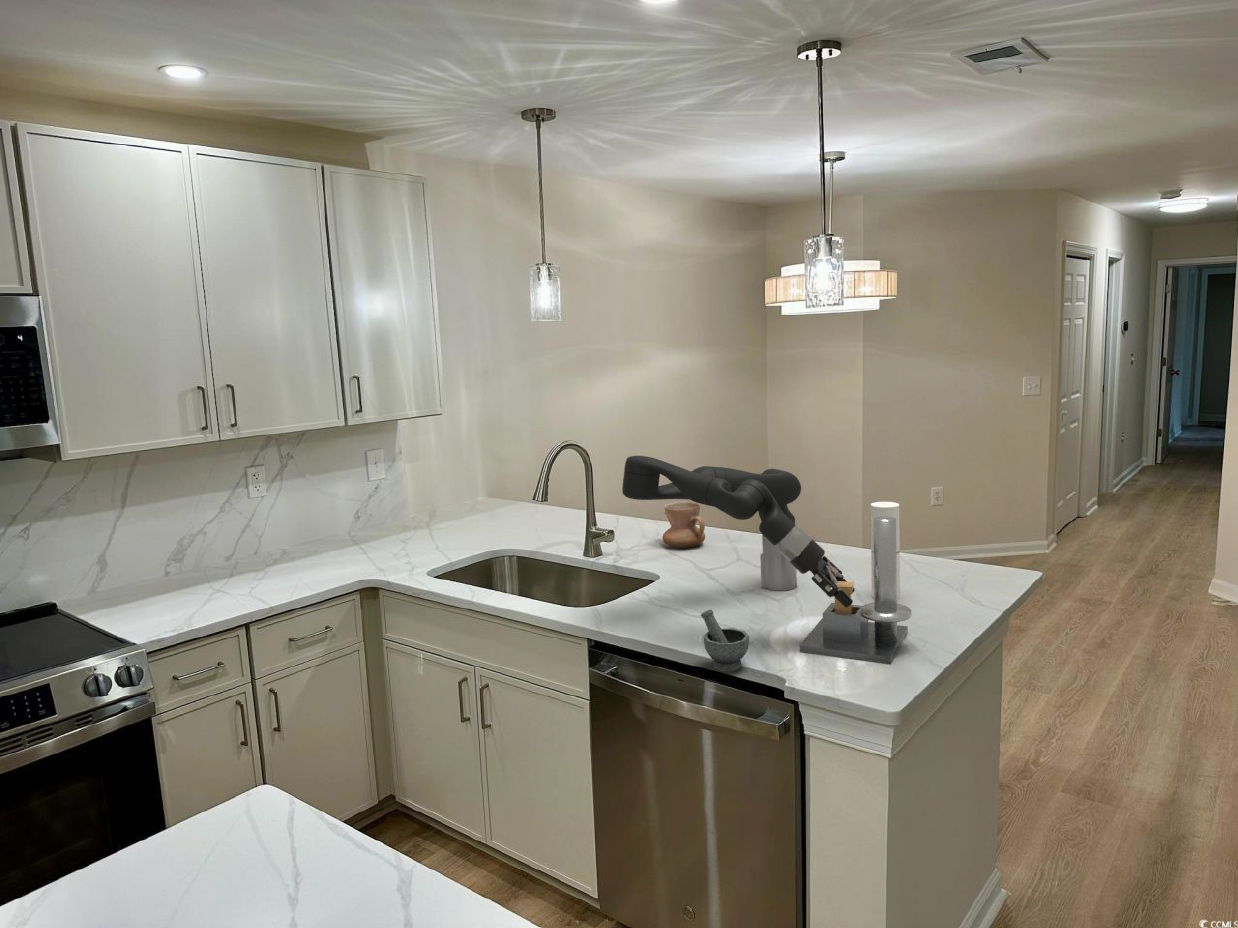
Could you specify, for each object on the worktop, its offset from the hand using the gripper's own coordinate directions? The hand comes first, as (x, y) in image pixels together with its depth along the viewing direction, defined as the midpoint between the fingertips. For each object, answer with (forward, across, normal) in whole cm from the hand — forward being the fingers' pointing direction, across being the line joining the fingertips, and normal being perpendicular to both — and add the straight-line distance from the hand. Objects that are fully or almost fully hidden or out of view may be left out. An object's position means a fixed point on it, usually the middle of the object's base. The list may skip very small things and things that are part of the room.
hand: (851, 598), depth 196 cm
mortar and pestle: (-11, +19, -26) cm, 34 cm away
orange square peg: (+5, -1, -8) cm, 9 cm away
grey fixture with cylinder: (+9, +1, -6) cm, 10 cm away
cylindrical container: (+12, -34, -3) cm, 36 cm away
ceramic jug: (-35, -79, -49) cm, 100 cm away
